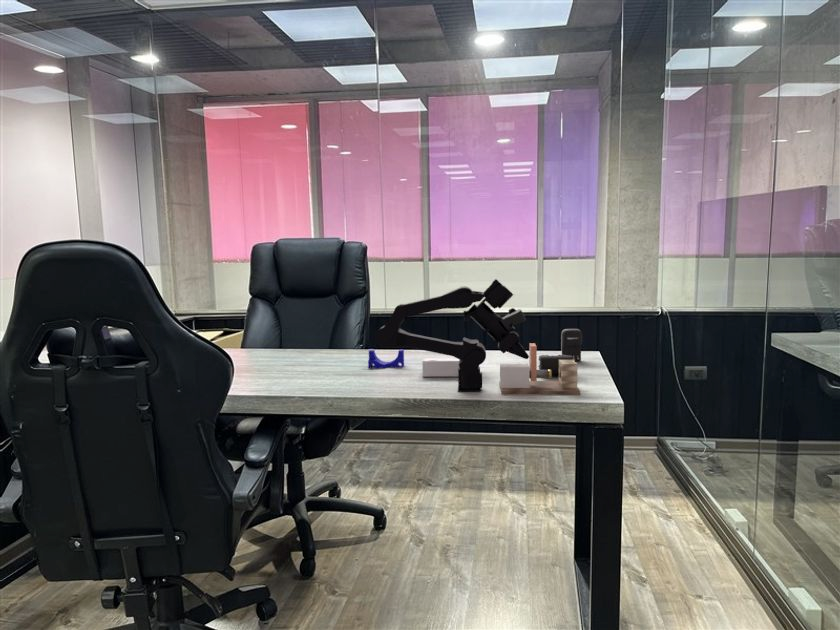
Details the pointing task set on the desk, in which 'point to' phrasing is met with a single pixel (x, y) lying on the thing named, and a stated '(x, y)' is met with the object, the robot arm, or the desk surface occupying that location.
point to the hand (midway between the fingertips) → (527, 357)
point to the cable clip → (381, 364)
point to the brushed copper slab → (533, 365)
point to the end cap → (552, 362)
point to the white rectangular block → (514, 375)
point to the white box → (440, 366)
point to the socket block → (567, 374)
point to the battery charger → (571, 343)
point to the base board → (542, 389)
